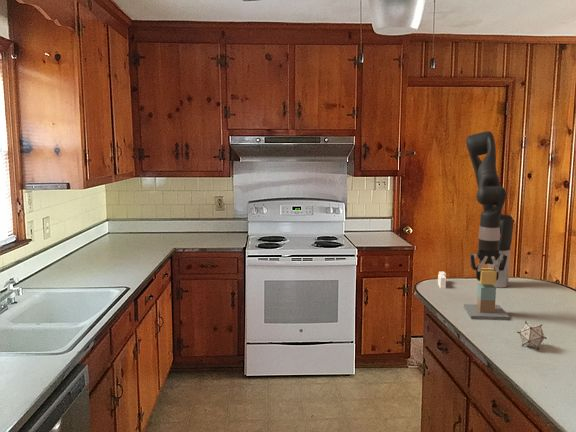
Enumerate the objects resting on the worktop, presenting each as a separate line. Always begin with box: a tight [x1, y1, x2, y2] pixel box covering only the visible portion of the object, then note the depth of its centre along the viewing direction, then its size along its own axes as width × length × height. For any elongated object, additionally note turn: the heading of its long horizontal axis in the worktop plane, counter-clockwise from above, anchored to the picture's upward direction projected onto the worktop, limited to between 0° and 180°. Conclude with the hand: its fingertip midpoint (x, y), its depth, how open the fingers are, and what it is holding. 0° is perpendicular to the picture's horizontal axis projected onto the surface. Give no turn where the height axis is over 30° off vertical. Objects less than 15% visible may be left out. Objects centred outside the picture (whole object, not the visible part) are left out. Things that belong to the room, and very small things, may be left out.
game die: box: [516, 320, 548, 351], centre depth 175 cm, size 9×8×10 cm
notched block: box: [437, 271, 447, 289], centre depth 247 cm, size 15×11×6 cm
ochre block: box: [478, 267, 497, 284], centre depth 205 cm, size 6×6×5 cm
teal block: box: [476, 283, 497, 302], centre depth 207 cm, size 6×6×5 cm
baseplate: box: [463, 296, 510, 321], centre depth 207 cm, size 14×14×6 cm
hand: (486, 280), depth 206 cm, fingers closed on ochre block, 5 cm apart
